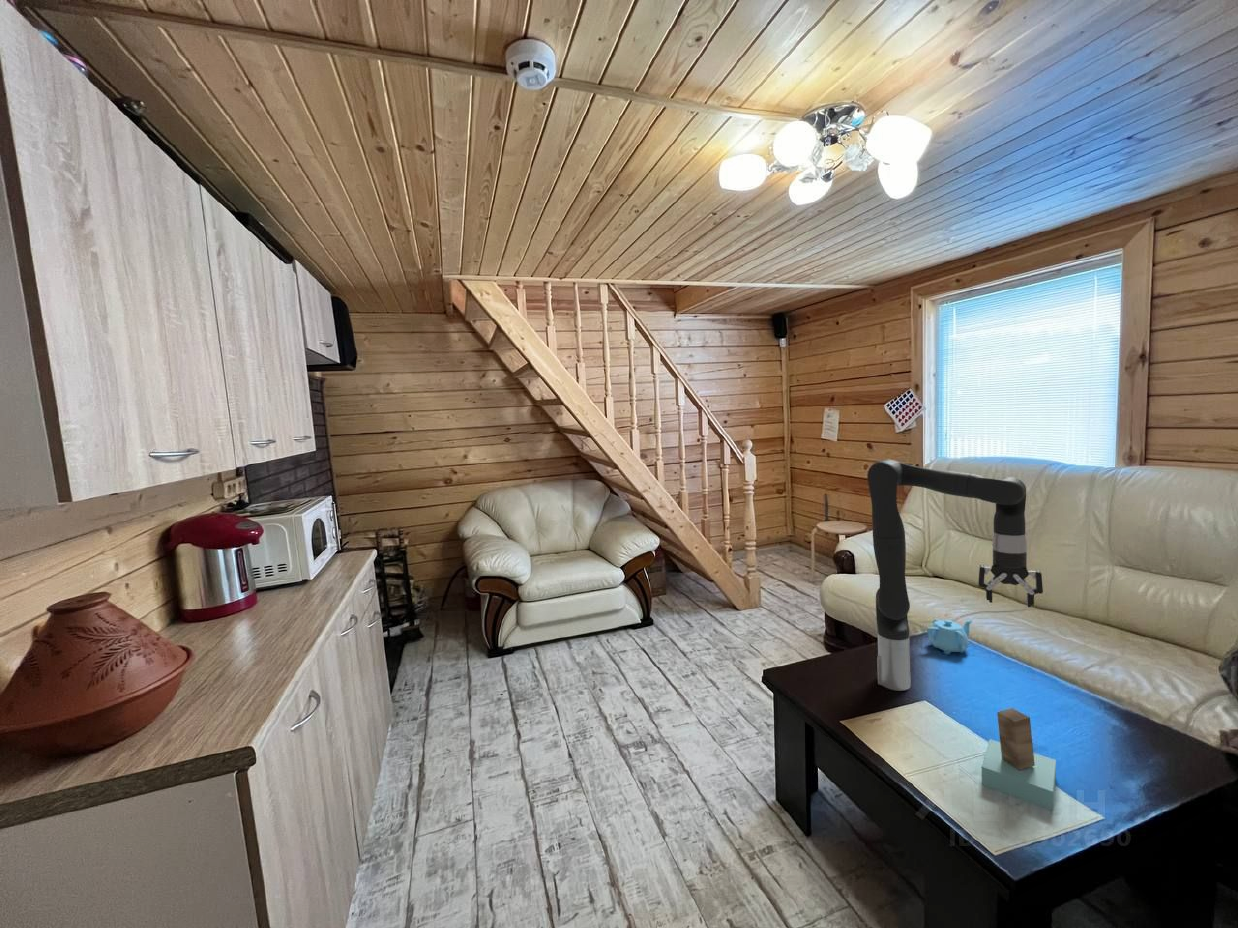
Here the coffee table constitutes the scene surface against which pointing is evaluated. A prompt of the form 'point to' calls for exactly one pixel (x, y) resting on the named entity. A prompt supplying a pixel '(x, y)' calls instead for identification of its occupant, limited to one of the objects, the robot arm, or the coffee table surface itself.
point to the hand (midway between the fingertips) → (1009, 604)
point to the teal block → (1020, 777)
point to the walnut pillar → (1016, 738)
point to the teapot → (949, 635)
